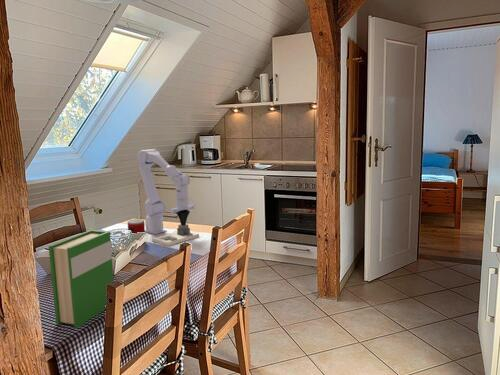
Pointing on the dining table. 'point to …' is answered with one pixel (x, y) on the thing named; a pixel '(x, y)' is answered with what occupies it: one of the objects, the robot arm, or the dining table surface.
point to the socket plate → (174, 238)
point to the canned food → (136, 225)
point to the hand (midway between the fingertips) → (183, 224)
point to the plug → (183, 230)
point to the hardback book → (81, 276)
